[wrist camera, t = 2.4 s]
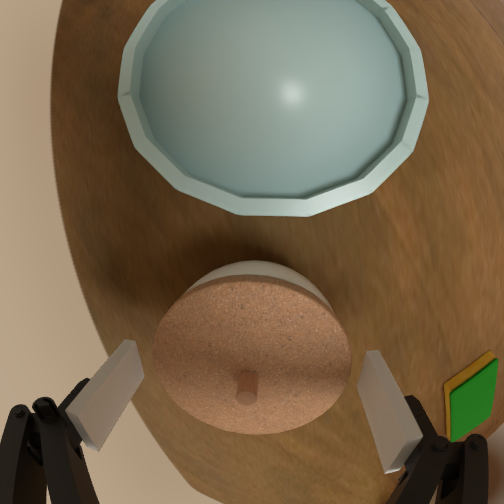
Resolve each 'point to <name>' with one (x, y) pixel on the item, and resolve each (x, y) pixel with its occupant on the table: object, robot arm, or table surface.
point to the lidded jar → (252, 349)
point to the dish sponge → (470, 396)
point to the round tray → (273, 100)
